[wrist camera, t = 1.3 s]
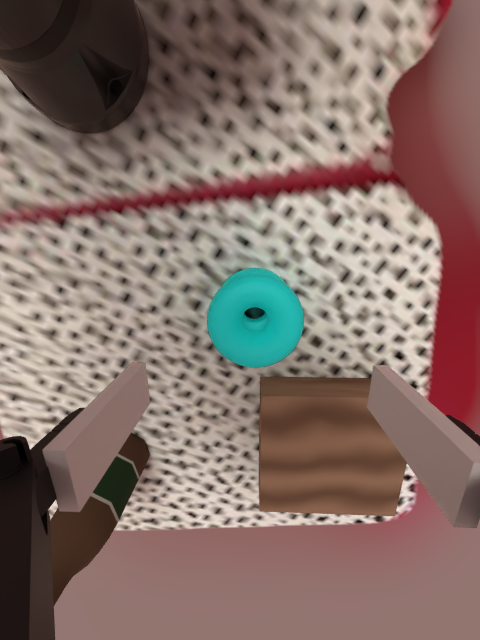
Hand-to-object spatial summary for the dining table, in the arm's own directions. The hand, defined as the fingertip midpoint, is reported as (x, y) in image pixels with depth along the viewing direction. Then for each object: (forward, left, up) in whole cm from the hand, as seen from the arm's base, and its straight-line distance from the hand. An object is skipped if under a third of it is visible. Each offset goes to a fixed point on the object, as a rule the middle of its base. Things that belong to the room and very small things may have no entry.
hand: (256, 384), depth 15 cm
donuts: (0, 0, -21) cm, 21 cm away
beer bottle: (+25, -21, -21) cm, 39 cm away
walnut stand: (+21, +11, -20) cm, 31 cm away
